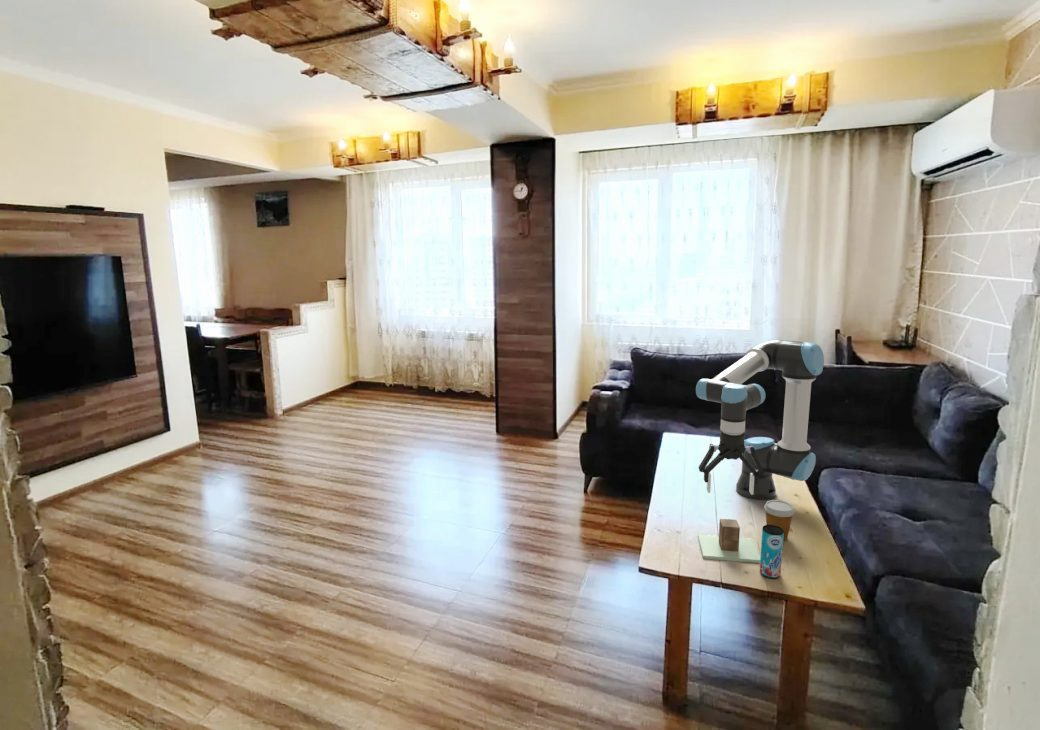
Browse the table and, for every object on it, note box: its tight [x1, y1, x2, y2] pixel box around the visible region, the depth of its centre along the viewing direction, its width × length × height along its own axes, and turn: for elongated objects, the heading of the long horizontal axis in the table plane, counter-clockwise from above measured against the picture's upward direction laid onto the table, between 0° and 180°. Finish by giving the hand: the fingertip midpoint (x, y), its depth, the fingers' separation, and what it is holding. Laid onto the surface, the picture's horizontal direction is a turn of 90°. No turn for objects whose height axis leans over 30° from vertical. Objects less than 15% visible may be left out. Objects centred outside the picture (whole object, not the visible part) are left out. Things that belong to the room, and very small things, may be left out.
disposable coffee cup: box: [763, 499, 796, 543], centre depth 187 cm, size 10×10×12 cm
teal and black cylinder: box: [759, 524, 784, 580], centre depth 165 cm, size 6×6×15 cm
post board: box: [697, 534, 761, 564], centre depth 180 cm, size 18×14×7 cm
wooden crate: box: [718, 518, 741, 551], centre depth 180 cm, size 5×5×9 cm
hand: (729, 492), depth 180 cm, fingers open, 13 cm apart
